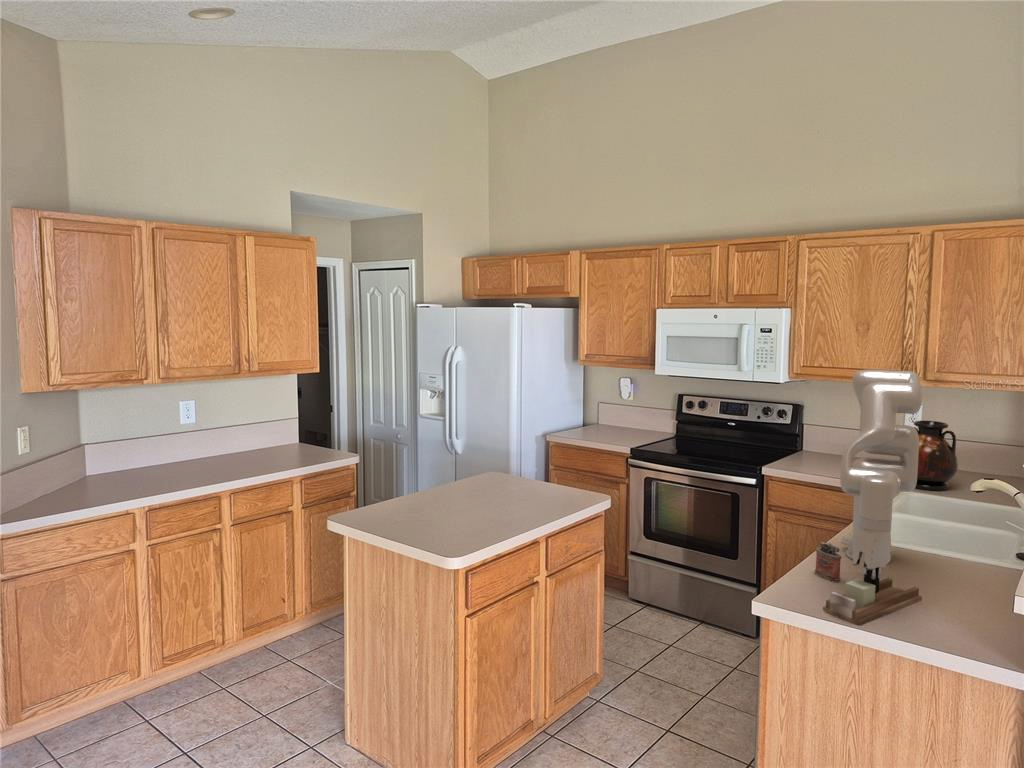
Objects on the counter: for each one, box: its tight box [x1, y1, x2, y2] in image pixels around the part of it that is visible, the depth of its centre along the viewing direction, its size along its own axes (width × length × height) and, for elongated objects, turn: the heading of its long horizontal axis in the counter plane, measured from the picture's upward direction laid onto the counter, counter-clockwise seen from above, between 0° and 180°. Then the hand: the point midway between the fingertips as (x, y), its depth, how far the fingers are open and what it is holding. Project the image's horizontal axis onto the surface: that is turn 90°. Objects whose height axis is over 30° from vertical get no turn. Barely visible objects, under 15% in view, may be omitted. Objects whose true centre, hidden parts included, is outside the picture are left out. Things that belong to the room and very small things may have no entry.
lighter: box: [814, 541, 842, 583], centre depth 201 cm, size 8×3×10 cm, turn 23°
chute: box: [822, 577, 922, 626], centre depth 183 cm, size 10×28×6 cm, turn 121°
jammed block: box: [844, 578, 875, 610], centre depth 179 cm, size 5×5×6 cm
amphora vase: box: [899, 420, 959, 492], centre depth 299 cm, size 22×22×28 cm
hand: (870, 591), depth 182 cm, fingers closed
